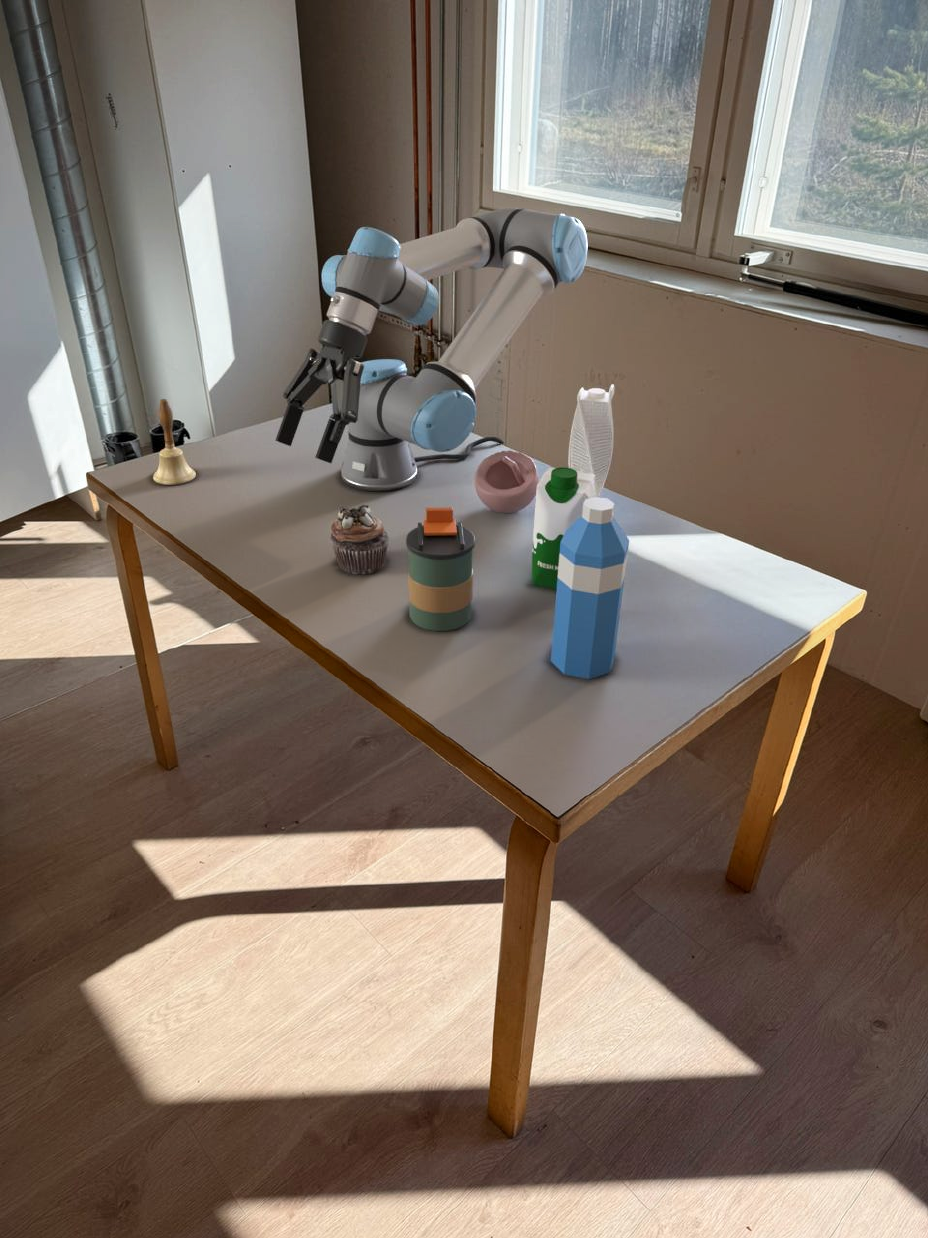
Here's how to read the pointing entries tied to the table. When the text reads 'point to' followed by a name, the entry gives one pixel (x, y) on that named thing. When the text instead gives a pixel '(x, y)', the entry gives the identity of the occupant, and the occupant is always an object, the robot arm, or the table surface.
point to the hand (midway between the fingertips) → (302, 451)
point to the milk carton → (556, 518)
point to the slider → (439, 522)
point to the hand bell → (171, 453)
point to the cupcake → (359, 541)
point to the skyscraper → (592, 435)
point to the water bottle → (589, 592)
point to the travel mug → (440, 591)
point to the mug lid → (440, 543)
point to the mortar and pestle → (506, 481)
